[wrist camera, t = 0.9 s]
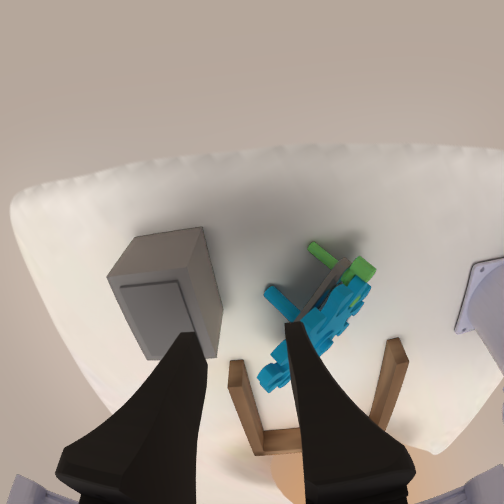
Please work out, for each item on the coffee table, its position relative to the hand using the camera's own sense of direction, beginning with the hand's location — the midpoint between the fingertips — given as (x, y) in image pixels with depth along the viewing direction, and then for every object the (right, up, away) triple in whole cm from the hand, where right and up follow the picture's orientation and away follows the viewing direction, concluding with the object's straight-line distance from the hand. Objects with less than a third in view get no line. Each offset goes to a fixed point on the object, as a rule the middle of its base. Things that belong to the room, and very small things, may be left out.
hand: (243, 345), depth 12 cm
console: (-5, +2, +10) cm, 12 cm away
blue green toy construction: (+5, 0, +11) cm, 12 cm away
